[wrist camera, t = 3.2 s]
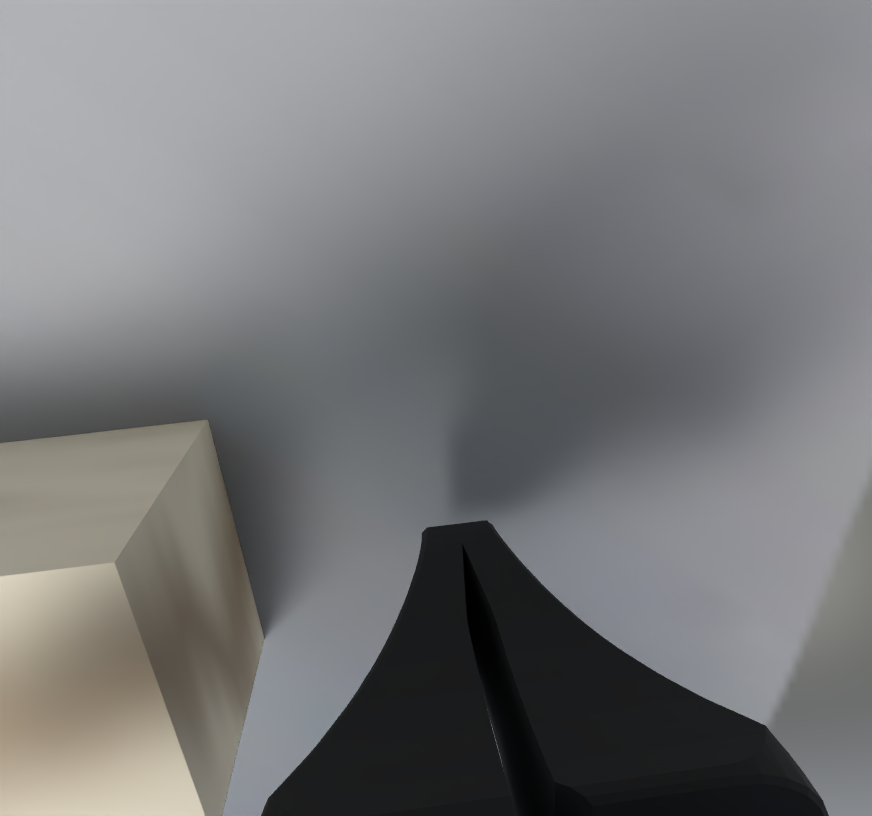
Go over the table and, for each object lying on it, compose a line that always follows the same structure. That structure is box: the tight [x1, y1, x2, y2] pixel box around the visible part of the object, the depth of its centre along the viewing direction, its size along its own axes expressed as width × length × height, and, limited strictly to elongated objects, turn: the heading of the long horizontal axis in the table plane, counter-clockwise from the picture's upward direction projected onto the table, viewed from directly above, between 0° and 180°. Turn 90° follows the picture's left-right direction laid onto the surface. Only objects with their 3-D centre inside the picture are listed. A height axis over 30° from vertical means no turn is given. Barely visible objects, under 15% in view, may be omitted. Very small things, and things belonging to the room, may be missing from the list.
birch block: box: [0, 420, 264, 816], centre depth 12 cm, size 6×6×5 cm
